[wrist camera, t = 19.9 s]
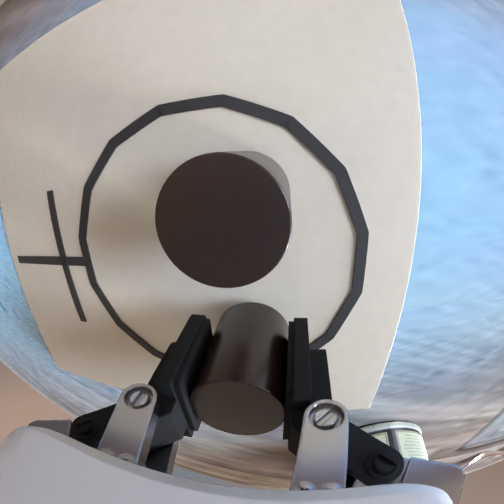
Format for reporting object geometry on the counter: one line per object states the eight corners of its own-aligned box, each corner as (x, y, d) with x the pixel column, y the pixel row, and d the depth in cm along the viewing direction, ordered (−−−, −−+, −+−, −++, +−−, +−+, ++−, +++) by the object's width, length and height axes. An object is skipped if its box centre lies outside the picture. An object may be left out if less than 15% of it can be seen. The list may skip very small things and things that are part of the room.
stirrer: (448, 493, 16) (469, 478, 15) (442, 474, 20) (462, 458, 18) (516, 454, 16) (533, 438, 14) (511, 441, 20) (527, 425, 18)
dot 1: (203, 154, 10) (147, 160, 6) (289, 149, 9) (290, 148, 5) (210, 234, 11) (165, 286, 7) (290, 233, 11) (291, 290, 6)
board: (4, 71, 9) (-2, 71, 8) (387, -25, 6) (390, -32, 5) (61, 363, 18) (57, 368, 17) (368, 401, 14) (369, 409, 14)
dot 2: (214, 300, 12) (178, 375, 7) (290, 302, 11) (288, 384, 7) (222, 355, 13) (198, 429, 8) (288, 358, 12) (284, 437, 8)
